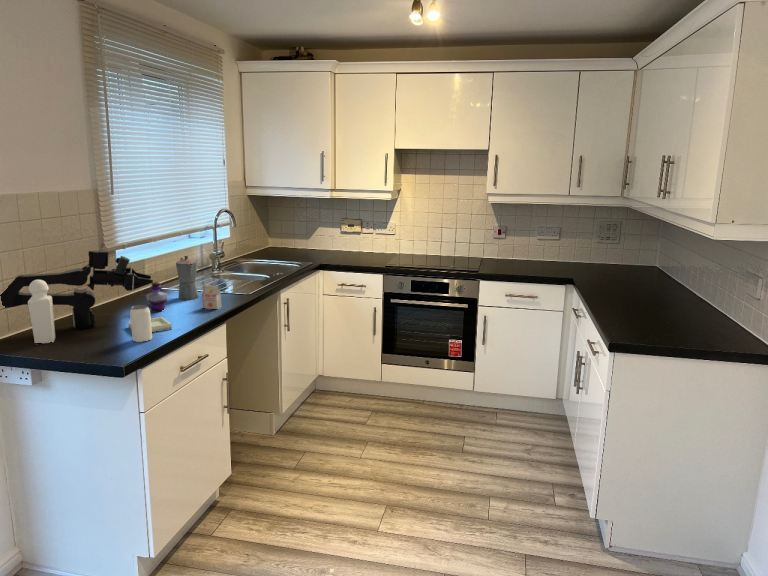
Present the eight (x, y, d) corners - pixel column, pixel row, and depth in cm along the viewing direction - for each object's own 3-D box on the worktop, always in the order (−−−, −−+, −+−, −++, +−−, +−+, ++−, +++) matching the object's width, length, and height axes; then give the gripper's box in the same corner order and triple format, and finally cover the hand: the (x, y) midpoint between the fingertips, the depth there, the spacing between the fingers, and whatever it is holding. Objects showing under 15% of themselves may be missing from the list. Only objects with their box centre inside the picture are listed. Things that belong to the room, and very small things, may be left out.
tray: (136, 335, 206) (136, 329, 206) (128, 327, 216) (128, 321, 216) (171, 329, 214) (171, 323, 213) (162, 322, 223) (162, 316, 223)
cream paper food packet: (207, 306, 248) (206, 284, 246) (221, 307, 246) (220, 285, 244) (203, 308, 244) (201, 286, 242) (217, 310, 243) (215, 287, 240)
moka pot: (184, 302, 255) (181, 258, 251) (171, 296, 267) (168, 254, 262) (204, 299, 261) (202, 256, 257) (191, 293, 273) (188, 252, 268)
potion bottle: (173, 308, 245) (171, 281, 242) (161, 313, 236) (158, 285, 234) (155, 307, 247) (153, 280, 244) (142, 312, 238) (140, 284, 236)
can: (146, 336, 205) (143, 303, 203) (155, 339, 201) (153, 306, 199) (129, 340, 200) (126, 307, 198) (138, 343, 196) (135, 310, 194)
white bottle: (33, 344, 195) (24, 282, 190) (36, 339, 200) (28, 278, 196) (54, 342, 197) (47, 280, 192) (57, 337, 203) (49, 277, 198)
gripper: (108, 260, 207) (154, 262, 214) (108, 253, 224) (150, 255, 231) (107, 290, 209) (153, 291, 216) (107, 281, 225) (149, 282, 232)
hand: (151, 279), depth 224 cm, fingers open, 9 cm apart
